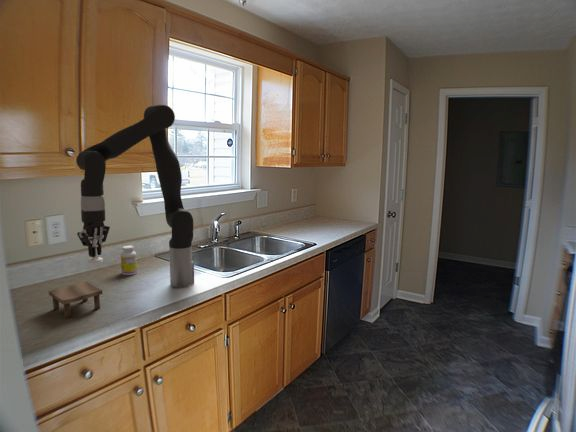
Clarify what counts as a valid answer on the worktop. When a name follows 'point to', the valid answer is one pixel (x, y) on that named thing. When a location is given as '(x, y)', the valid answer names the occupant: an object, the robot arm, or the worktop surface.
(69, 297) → the small wooden table
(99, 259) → the chess piece
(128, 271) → the supplement bottle
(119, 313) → the worktop surface
